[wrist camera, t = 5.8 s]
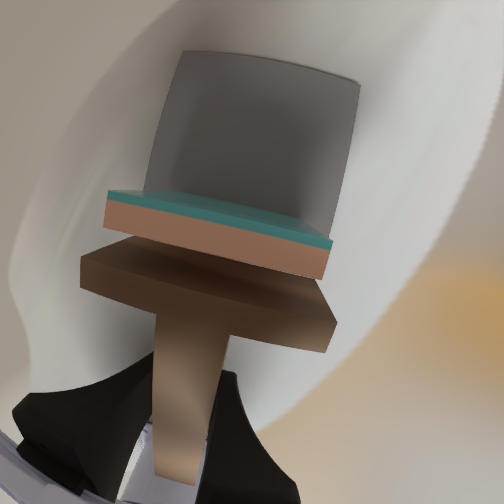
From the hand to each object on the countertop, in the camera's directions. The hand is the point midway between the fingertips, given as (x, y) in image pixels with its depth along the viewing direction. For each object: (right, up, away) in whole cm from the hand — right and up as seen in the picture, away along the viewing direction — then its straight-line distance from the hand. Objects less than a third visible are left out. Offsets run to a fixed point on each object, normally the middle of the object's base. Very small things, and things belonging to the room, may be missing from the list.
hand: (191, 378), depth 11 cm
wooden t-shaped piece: (0, -1, +3) cm, 3 cm away
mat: (+3, +12, +4) cm, 13 cm away
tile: (+2, +8, +4) cm, 9 cm away
